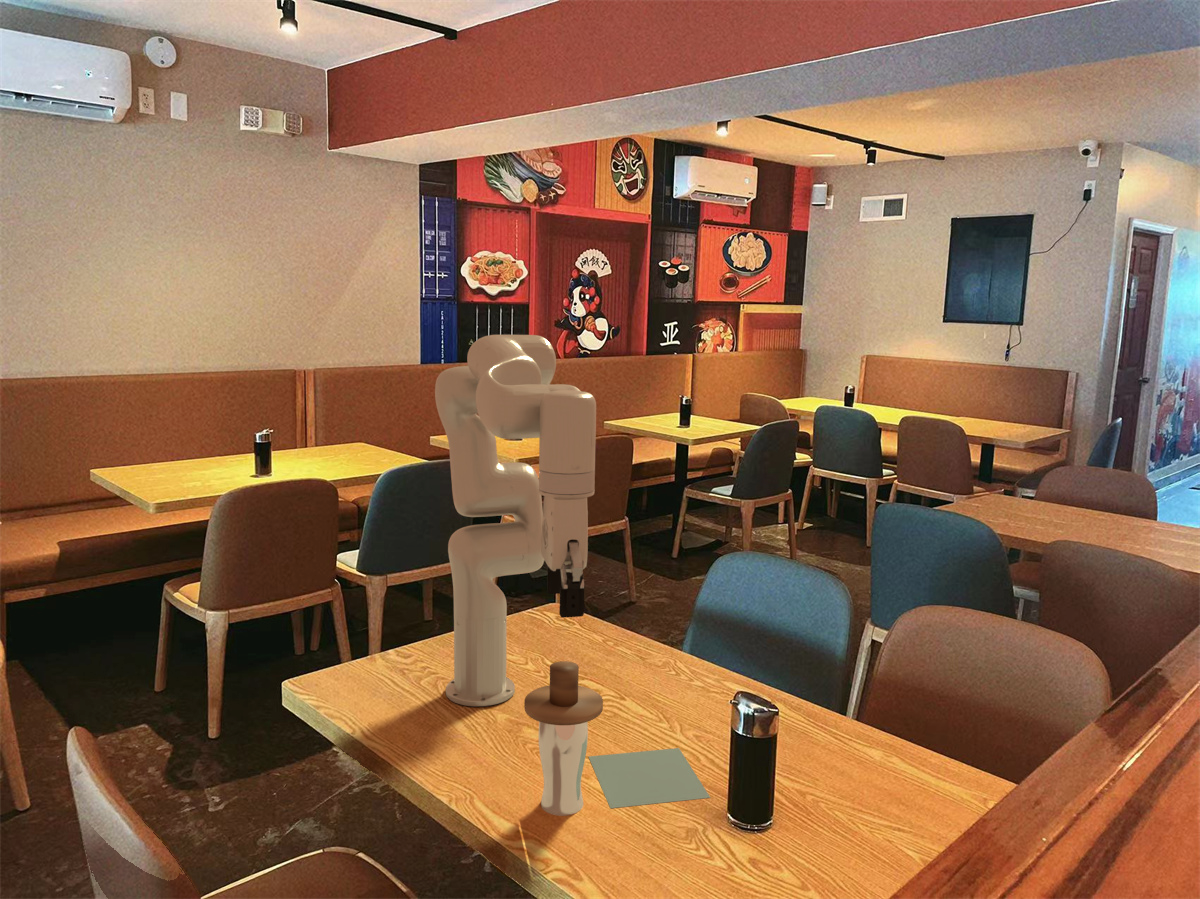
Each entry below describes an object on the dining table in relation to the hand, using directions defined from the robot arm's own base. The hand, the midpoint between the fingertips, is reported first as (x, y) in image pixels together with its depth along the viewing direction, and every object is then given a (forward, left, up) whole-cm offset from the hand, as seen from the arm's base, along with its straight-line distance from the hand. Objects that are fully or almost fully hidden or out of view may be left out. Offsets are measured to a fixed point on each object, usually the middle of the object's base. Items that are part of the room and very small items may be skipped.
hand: (564, 604), depth 123 cm
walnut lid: (0, 0, -15) cm, 15 cm away
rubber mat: (-5, +14, -30) cm, 34 cm away
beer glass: (0, 0, -30) cm, 30 cm away
